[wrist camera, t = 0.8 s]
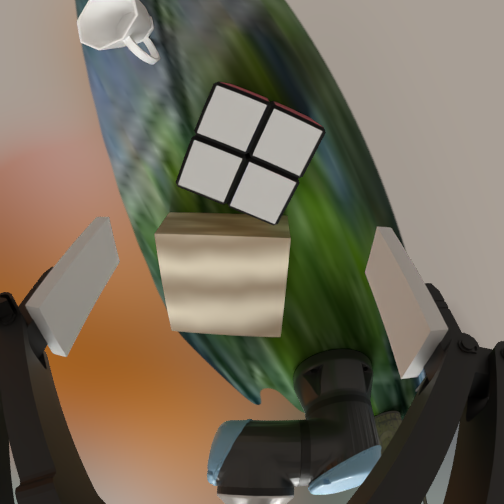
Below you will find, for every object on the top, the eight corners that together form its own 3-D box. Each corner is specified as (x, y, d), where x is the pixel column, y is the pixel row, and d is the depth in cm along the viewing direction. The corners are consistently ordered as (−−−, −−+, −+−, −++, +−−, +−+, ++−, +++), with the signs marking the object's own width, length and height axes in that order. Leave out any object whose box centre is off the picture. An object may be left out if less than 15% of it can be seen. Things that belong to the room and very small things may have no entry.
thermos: (359, 420, 64) (375, 547, 34) (404, 404, 60) (431, 530, 30) (366, 431, 67) (381, 545, 37) (407, 417, 64) (431, 531, 34)
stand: (279, 308, 45) (280, 337, 40) (181, 303, 46) (171, 330, 41) (287, 215, 38) (290, 238, 33) (169, 212, 38) (154, 233, 33)
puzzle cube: (228, 82, 30) (214, 80, 21) (311, 118, 32) (328, 129, 23) (196, 160, 35) (173, 187, 26) (274, 192, 36) (276, 228, 28)
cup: (145, -7, 24) (116, -26, 17) (191, 45, 28) (169, 35, 21) (101, 30, 26) (65, 23, 19) (143, 83, 30) (112, 84, 23)
